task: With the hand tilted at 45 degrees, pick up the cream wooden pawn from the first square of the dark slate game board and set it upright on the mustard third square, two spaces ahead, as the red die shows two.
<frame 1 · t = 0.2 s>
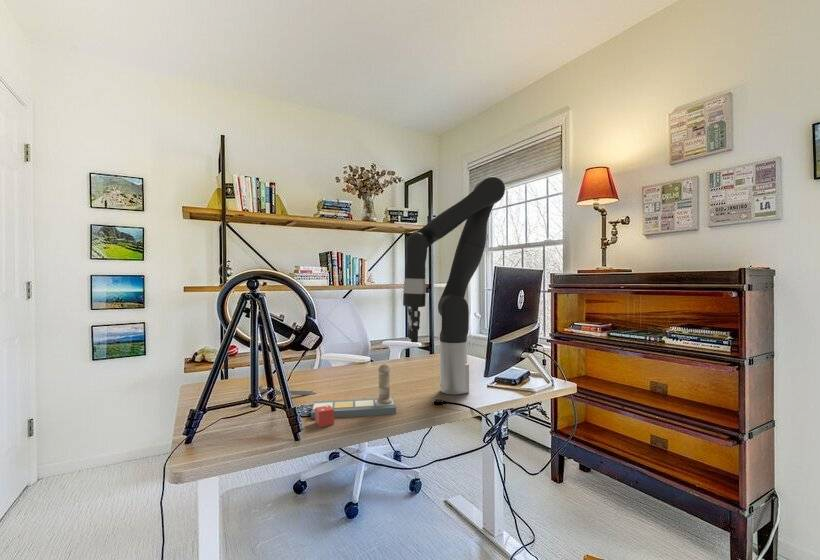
hand: (413, 340, 135), 18 cm above the table, tool pointing down, fingers open, 8 cm apart
board: (354, 410, 119), on the table
caliper: (286, 400, 132), on the table
pawn: (384, 402, 120), point 2 cm above the table, touching board
die: (324, 423, 109), on the table
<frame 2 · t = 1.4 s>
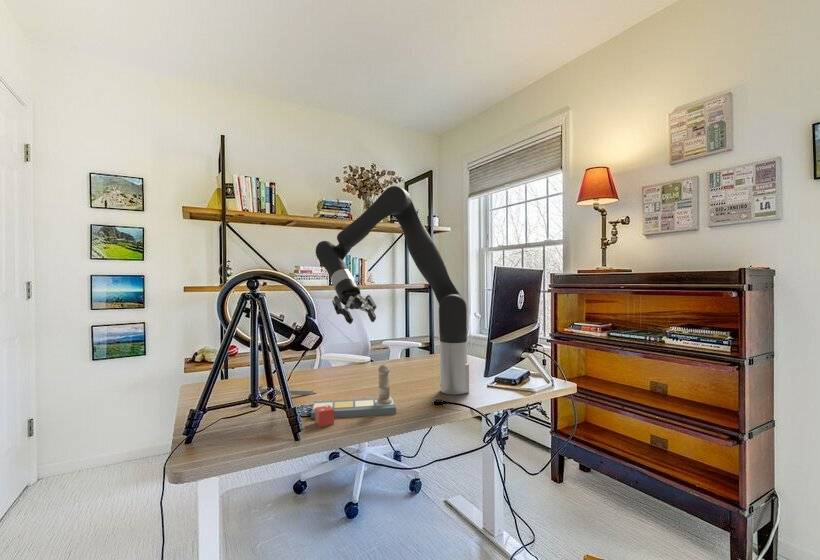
hand: (362, 321, 129), 25 cm above the table, tool tilted 45°, fingers open, 8 cm apart
nothing on the table moved.
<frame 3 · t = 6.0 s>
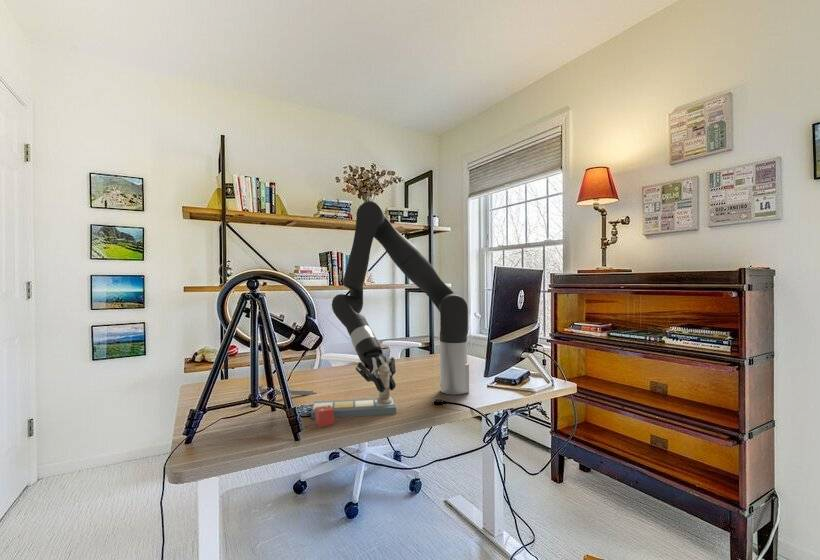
hand: (388, 389, 119), 6 cm above the table, tool tilted 45°, fingers closed on pawn, 3 cm apart
pawn: (384, 402, 120), point 2 cm above the table, touching board, gripper
everything else where it was.
when the fingers open (8 cm above the table, at t = 10.8 s): pawn drops 1 cm, resting on board.
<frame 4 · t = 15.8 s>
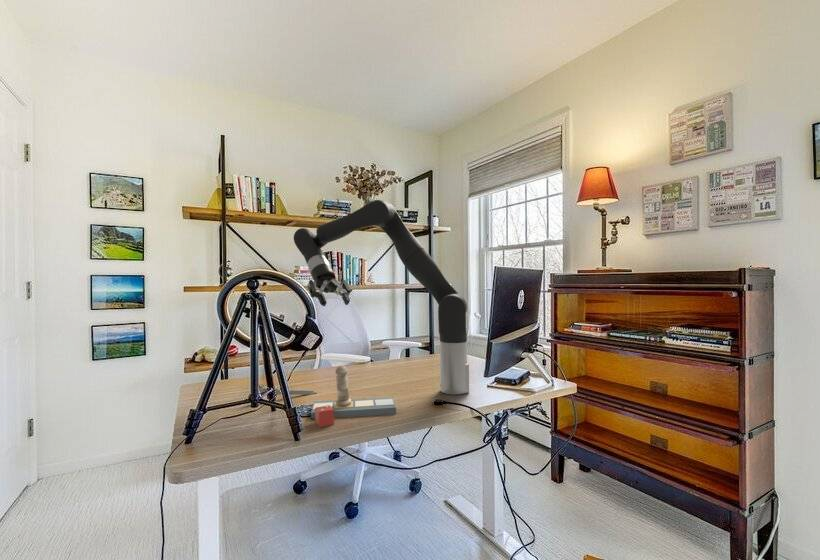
hand: (336, 303, 135), 31 cm above the table, tool tilted 45°, fingers open, 8 cm apart
pawn: (343, 403, 119), point 2 cm above the table, touching board
everything else where it was.
at the end: pawn 0.1 cm from the target spot, point 2.1 cm above the table; pawn tilted 3°; the gripper is holding nothing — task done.
